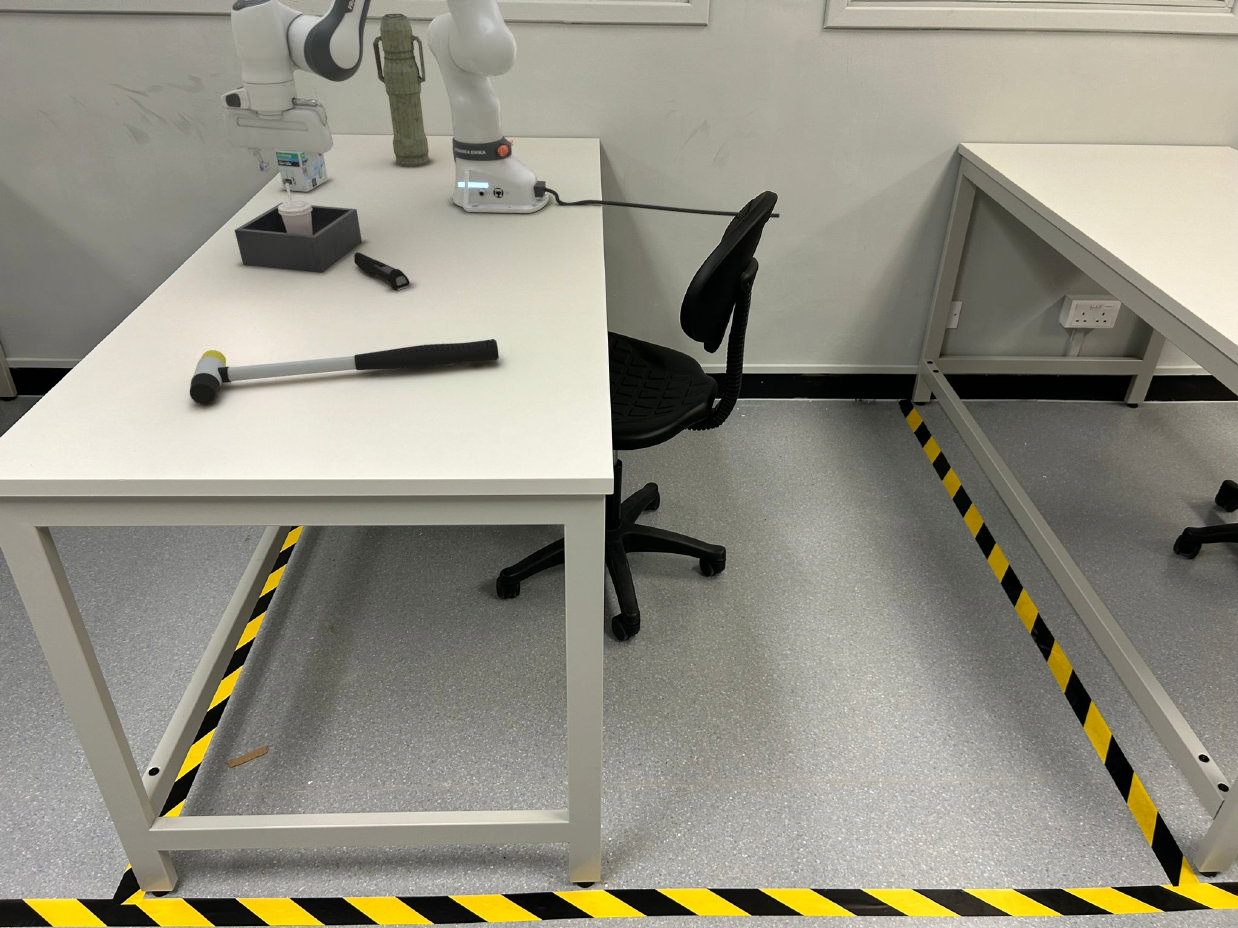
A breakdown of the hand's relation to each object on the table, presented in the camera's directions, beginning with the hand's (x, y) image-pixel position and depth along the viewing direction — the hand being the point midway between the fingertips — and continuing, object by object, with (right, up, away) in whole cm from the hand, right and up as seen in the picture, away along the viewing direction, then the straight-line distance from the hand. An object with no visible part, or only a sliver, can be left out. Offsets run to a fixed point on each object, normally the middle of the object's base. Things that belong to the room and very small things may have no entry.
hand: (286, 173), depth 165 cm
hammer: (+23, -42, -32) cm, 57 cm away
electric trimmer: (+18, -20, -1) cm, 27 cm away
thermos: (+9, +24, +63) cm, 68 cm away
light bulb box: (-13, +13, +46) cm, 50 cm away
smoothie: (0, -13, +9) cm, 16 cm away
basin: (0, -13, +9) cm, 16 cm away
